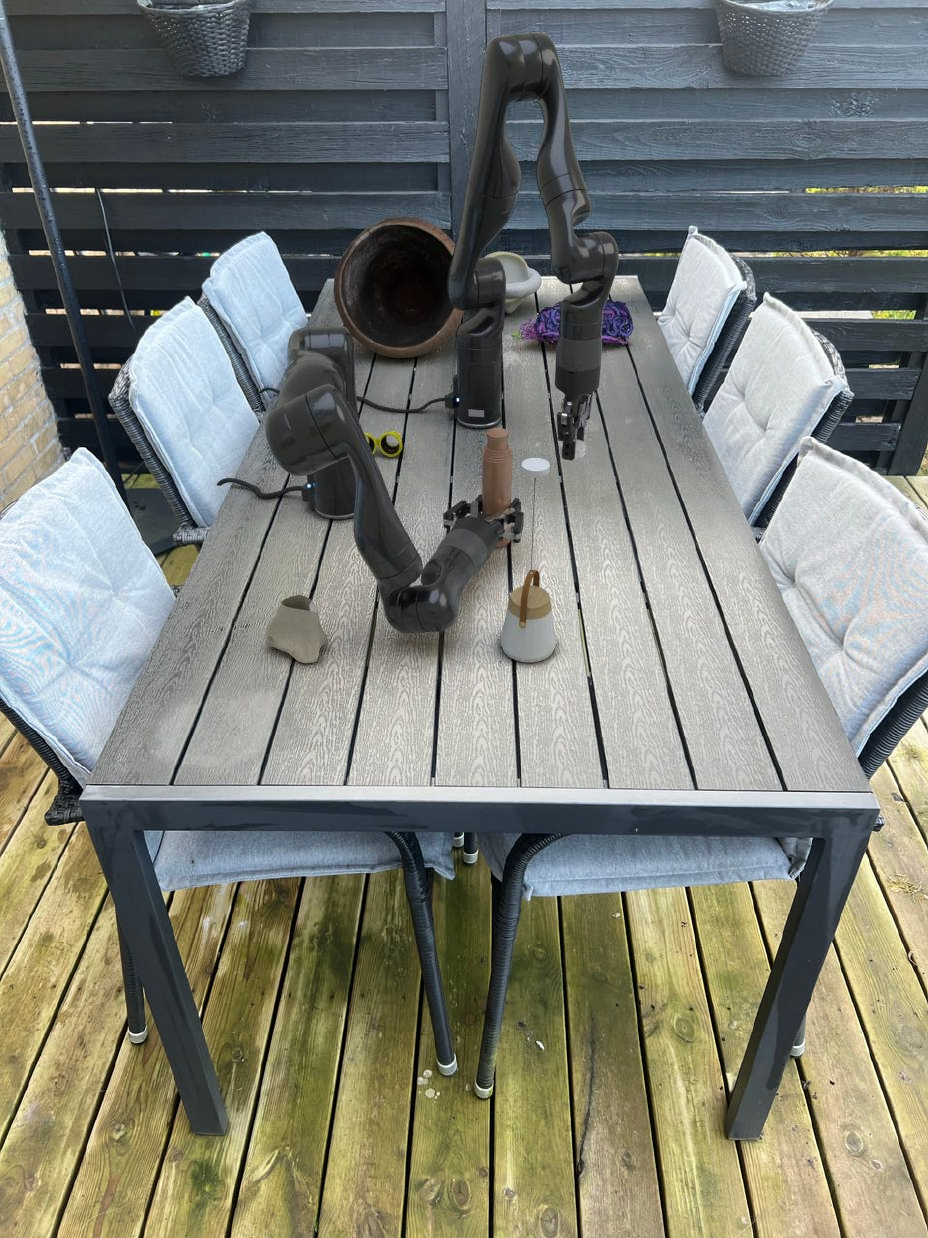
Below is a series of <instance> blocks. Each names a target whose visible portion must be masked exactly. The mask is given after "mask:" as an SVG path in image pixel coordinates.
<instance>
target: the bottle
mask: <svg viewBox="0 0 928 1238" xmlns="http://www.w3.org/2000/svg"><path fill="white" fill-rule="evenodd" d="M485 433H486V435H485V436H486V444H485V446H484V448H483V450H482V453H481V494H482V512H481V513H484V514H486V515H494V514H495V513H497V512H499V511H505V510H507V509H508V507H509V506H510V504H511V503H512V495H513V493H512V491H513V489H512V488H513V451H512V448H511V447H510V445H509V437H510V435H509V431H508V430H507V429H505V428H502V427H493V428H490V429H488V430H487V431H486V432H485ZM507 519H508V517H507ZM510 527H511V525H510V526H508V527H507V529H506V530H508V529H509V528H510ZM510 542H511V538H504V539H503V540H502V541H500V542H498V543H497V545H496V547H495V548H502V547H505V546H508V545H509V543H510Z"/></svg>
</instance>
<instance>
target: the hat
mask: <svg viewBox="0 0 928 1238" xmlns="http://www.w3.org/2000/svg"><path fill="white" fill-rule="evenodd" d="M486 257H495V258H497V259H499V260H500V261H501V263H502V265H503V267H504V270H505V275H506V300H505V313H504V314H512V313H514V311H516V309H517V308H518V307H519V306H520V305H522V303H524V302H525V301H526V300H527V299H528V297H529V296H531V295H533V294H535V293H536V292H538V291H539V290H540V288H541V286H542V282H543V280H542V276H541V274H539V273H540V272H538V271H537V270H535V269H533V268H532V267H529V266H528V264H527V262H526V260H525V259H524V258H523V257H522V256H520V255H519V254H517V253H514V252H509V251H496V252H495V251H494V252H491V253H488V254H486V256H484V257H483V258H486Z"/></svg>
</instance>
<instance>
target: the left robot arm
mask: <svg viewBox="0 0 928 1238" xmlns="http://www.w3.org/2000/svg"><path fill="white" fill-rule="evenodd" d="M286 350H287V351H286V354H287V355H286V361H287V362H286V363H287V364H286V369H285V371H284V374H283V376H282V381H281V385H280V390H279V391H280V394H278V396H277V399H276V401H275V403H274V404H273V405H272V407H271V408H270V410H269V411H268V413H267V415H266V417H265V422H264V429H265V431H264V432H265V438H266V442H267V445H268V448H269V451H270V453H271V456H272V457H273V458H274V460H275V462H276V463H277V465H279V467H280V468H282V469H283V470H284V471H285V472H286V473H288V474H289V475H291V476H295V477H305V476H306V482H305V483H304V484H303V485H293V486H288V487H285V488H283V489H280V490H277V491H272V492H262V491H261V490H260V488H259V487H258V486H256V485H254V484H252V483H250V482H249V481H246V480H242V479H239V478H235V477H225V478H222V479H220V480H219V481H217V483H216V486H217V487H221V486H223V485H224V484H228V483H229V484H230V483H232V484H237V485H240V486H243V487H245V488H247V489H249V490H251V491H254V492H255V494H256V495H257V497H259V498H262V499H272V498H275V497H280V496H283V495H286V494H288V493H290V492H301V500H302V502H306V503H309V505H310V510H311V511H314V512H316V514H318V515H319V516H320V517H322V518H325V519H329V520H346V519H351V518H353V521H352V522H353V523H352V533H353V540H354V543H355V545H356V548H357V551H358V553H359V555H360V557H361V558H362V560H363V562H364V563H365V565H366V566H367V568H368V569H369V571H370V572H371V575H372V576H373V578H374V579H375V581H376V585H377V587H378V588H377V589H378V593H379V596H380V600H381V603H382V609H383V613H384V616H385V620H386V621H387V623H388V625H390V627H392V629H393V630H395V631H396V632H398V633H400V634H405V635H411V634H412V635H413V634H427V633H428V634H429V633H440V632H444V631H446V630H448V629H450V628H451V627H452V626H454V624H456V622H457V620H458V618H459V616H460V615H459V614H460V608H461V604H462V600H463V595H464V591H465V590H466V588H467V587H468V585H469V584H470V583H471V581H472V579H474V577H476V576H477V574H478V573H479V572H480V571H481V569H482V568H483V567H484V566H485V565H486V562H487V561H488V559H489V558H490V556H491V555H492V553H493V552H494V551H495V549H496V548H497V547H496V545H497V543H498V542H500V541H502V540H503V539H504V538H510V539H511V540H512V542H513V543H514V544H520V543H521V540H522V535H523V530H524V520H525V513H524V512H523V511H522V501H520V498H518V497H514V498H513V500H511V504H510V506H509V507H508V509H507V510H505V511H499V512H497V513H495V514H494V515H486V514H484V513H482V493H480V494H478V495H477V497H476V498H475V499H474V500H471V501H470V502H468V501H467V500H463V499H461V500H460V501H459V502H457V503H456V504H455V505H453V506H452V507H450V508H448V509H447V510H446V511H445V512H443V514H442V526H443V528H444V529H447V530H448V529H450V530H449V531H448V532H447V534H446V535H444V536H445V537H444V538H443V539H442V540H441V542H440V543H439V544H438V546H437V548H436V550H435V552H434V553H433V555H431V557H430V558H429V559H428V561H427V562H426V564H425V565H423V560H422V557H421V555H420V553H419V551H418V550H417V548H416V546H415V545H414V543H413V541H412V539H411V537H410V535H409V533H408V532H407V530H406V528H405V527H404V525H403V523H402V521H401V519H400V517H399V515H398V513H397V511H396V508H395V506H394V503H393V501H392V498H391V495H390V493H389V490H388V488H387V485H386V482H385V480H384V478H383V475H382V473H381V470H380V467H379V465H378V462H377V461H376V458H375V456H374V454H373V453H372V451H371V449H370V446H369V444H368V443H369V441H368V440H367V439H368V438H367V436H365V435H364V433H365V432H364V430H363V428H362V425H361V424H360V419H359V418H360V417H359V409H358V408H359V407H358V401H357V400H358V399H356V396H357V385H356V383H357V382H356V354H355V352H356V351H355V343H354V338H353V337H352V335H351V332H350V331H349V329H348V328H347V327H345V325H344V326H343V325H334V326H333V325H331V326H330V325H329V326H311V327H301V328H297V329H295V330H293V332H292V333H291V334H290V335H289V338H288V342H287V349H286ZM507 517H508V519H507ZM510 525H511V527H510V528H509V529H508V530H506V529H507V527H508V526H510ZM419 578H420V584H414V583H415V582H416V581H417V580H418V579H419ZM412 584H414V585H412Z"/></svg>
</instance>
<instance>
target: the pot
mask: <svg viewBox="0 0 928 1238" xmlns="http://www.w3.org/2000/svg"><path fill="white" fill-rule="evenodd" d="M455 245H456V243H455V242H454V241H453V239H452V238H451V237H450V236H448V235H447V233H445V232H444V231H443V230H442V229H441V228H439V227H438V226H436V225H435V224H433V223H431V222H429V221H427V220H424V219H422V218H418V217H415V216H414V217H413V216H408V215H407V216H392V217H386V218H383V219H381V220H379V221H377V222H375V223H373V224H371V225H370V226H368V227H367V228H365V229H364V230H363V231H361V232H360V234H358V235H357V236H356V237H355V238H354V239H353V240H352V241H351V242H350V243H349V245H348V246H347V248H346V249H345V250H344V252H343V255H342V256H341V257H340V260H339V261H338V264H337V266H336V268H335V271H334V278H333V299H334V303H335V307H336V310H337V313H338V315H339V317H340V320H341V321H342V324H343V325H344V327H347V328H348V329H349V331H350V332H351V335H352V338H353V339H355V340H356V341H357V342H358V343H360V345H362V346H363V347H364V348H366V349H367V350H368V351H371V352H372V353H376V354H377V355H380V356H383V357H387V358H392V359H393V358H394V359H409V358H416V357H421V356H423V355H426V354H429V353H431V352H434V351H435V350H437V349H439V348H440V347H441V346H443V345H444V344H446V342H447V341H448V340H449V339H450V338H451V337H452V336H453V335H454V333H456V331H457V328H458V326H459V325H460V324H461V323H462V320H463V317H464V314H465V311H460V310H456V309H455V308H453V307H452V305H451V304H450V302H449V299H448V294H447V278H448V271H449V267H450V263H451V259H452V256H453V252H454V249H455Z"/></svg>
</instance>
